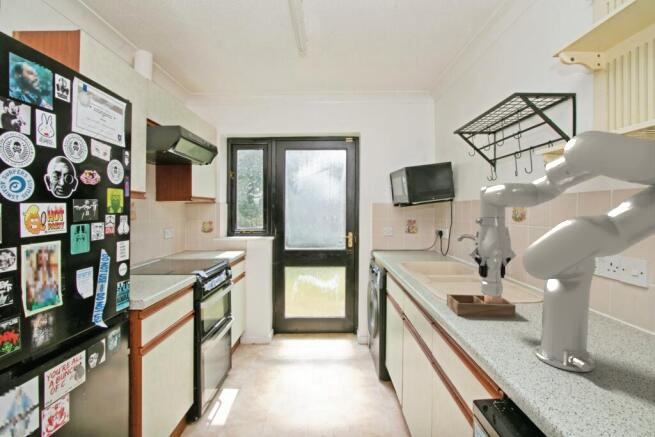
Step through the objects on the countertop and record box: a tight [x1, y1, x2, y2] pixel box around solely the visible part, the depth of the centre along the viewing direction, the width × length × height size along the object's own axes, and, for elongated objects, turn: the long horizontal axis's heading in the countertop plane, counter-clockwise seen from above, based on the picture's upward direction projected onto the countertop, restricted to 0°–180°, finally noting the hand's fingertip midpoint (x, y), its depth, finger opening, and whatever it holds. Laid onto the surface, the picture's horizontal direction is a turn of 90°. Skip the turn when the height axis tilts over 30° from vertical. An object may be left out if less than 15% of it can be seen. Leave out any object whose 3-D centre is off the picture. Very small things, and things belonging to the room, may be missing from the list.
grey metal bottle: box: [480, 249, 504, 297], centre depth 101 cm, size 6×7×20 cm
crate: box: [446, 293, 516, 318], centre depth 115 cm, size 12×20×5 cm, turn 87°
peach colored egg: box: [483, 294, 502, 304], centre depth 115 cm, size 6×6×7 cm
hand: (491, 276), depth 101 cm, fingers closed on grey metal bottle, 5 cm apart
